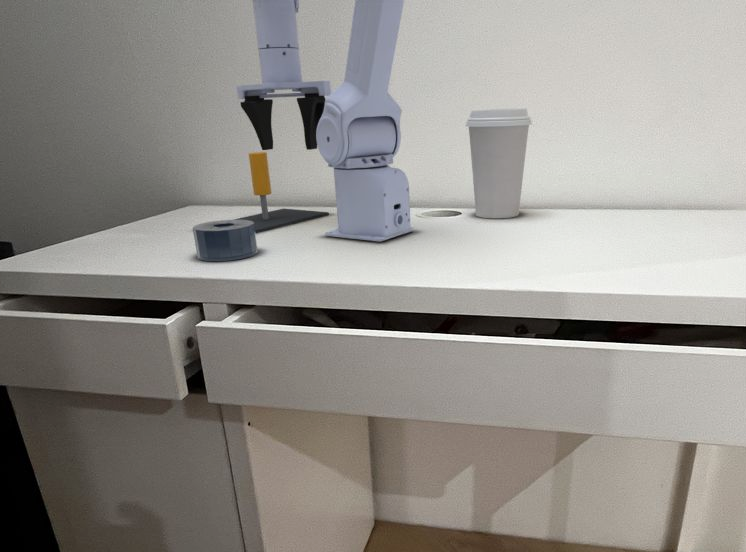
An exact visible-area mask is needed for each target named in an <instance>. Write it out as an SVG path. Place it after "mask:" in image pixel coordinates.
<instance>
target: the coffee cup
mask: <svg viewBox="0 0 746 552" xmlns="http://www.w3.org/2000/svg"><path fill="white" fill-rule="evenodd" d="M531 125H533V121H532V119H531V116H530V115H529V113H528V109H527V108H492V109H491V108H489V109H471V111H470V114H469V117H468V118H467V120H466V123H465V127H468V135H469V145H470V146H469V147H470V157H471V169H472V171H471V173H472V184H473V195H474V197H473V198H474V207H475V216H476V217H478V218H483V219H510V218H515V217H518V216H519V215H520V208H521V207H520V206H521V197H522V189H523V178H524V169H525V161H526V152H527V143H528V135H529V128H530V126H531Z"/></svg>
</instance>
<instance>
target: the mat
mask: <svg viewBox="0 0 746 552" xmlns="http://www.w3.org/2000/svg"><path fill="white" fill-rule="evenodd" d="M329 215H330V212H329V211H318V210H306V209H293V208H279V209H276V210H271V211H268V216H269V219H268V220H263V216H262V212H261V213H257V214H253V215H252V214H251V215H247V216H244V217H239V218H233V220H249V221H252V222H254V226H255V234H257V233H261V232H265V231H266V232H267V231H269V230H274V229H277V228H281V227H286V226H290V225H294V224H297V223H301V222H306V221H310V220H313V219H318V218H322V217H325V216H329Z"/></svg>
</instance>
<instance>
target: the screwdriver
mask: <svg viewBox="0 0 746 552" xmlns="http://www.w3.org/2000/svg"><path fill="white" fill-rule="evenodd" d="M248 159H249V165H250V166H249V167H250V176H251V183H252V191H253V196H259V200H260V206H261V213H262V216H263V220H268V219H269V216H268V212H269V207H268V200H267V196H269V195H272V187H271V177H270V169H269V160H268V153H267V152H266V151H258V152H257V151H255V152H249V153H248Z"/></svg>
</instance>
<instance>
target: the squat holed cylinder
mask: <svg viewBox="0 0 746 552" xmlns="http://www.w3.org/2000/svg"><path fill="white" fill-rule="evenodd" d="M192 232H193V239H194V240H193V241H194V245H195V250H196V255H197V258H198V260H201V261H203V262H229V261H230V262H232V261H238V260H243V259H248V258H250V257H253V256H255V255H257V254H258V241H257V235H256V234H257V233H255V226H254V222H252V221H249V220H234V219H221V220H213V221H207V222H206V221H205V222H201V223H197V224H195V225H194V226H193V227H192Z"/></svg>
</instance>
